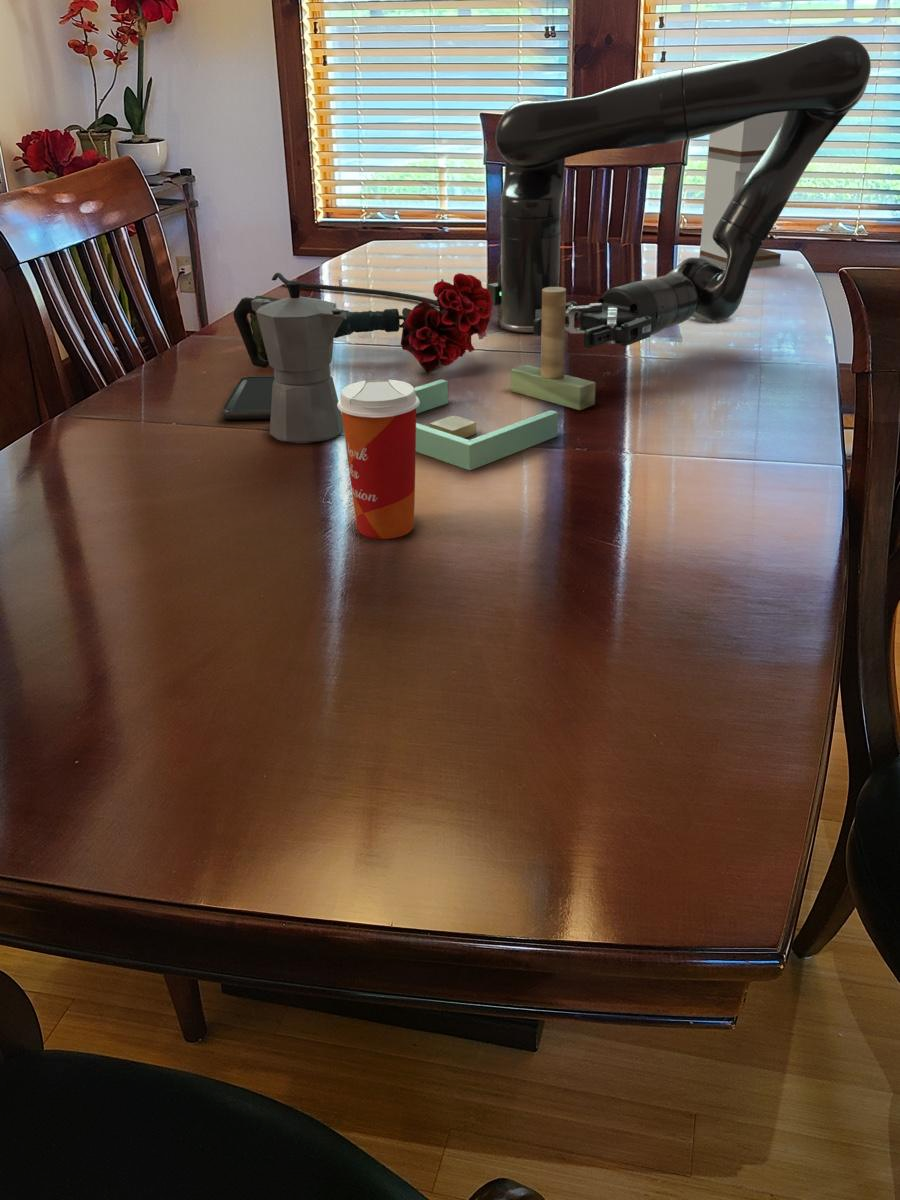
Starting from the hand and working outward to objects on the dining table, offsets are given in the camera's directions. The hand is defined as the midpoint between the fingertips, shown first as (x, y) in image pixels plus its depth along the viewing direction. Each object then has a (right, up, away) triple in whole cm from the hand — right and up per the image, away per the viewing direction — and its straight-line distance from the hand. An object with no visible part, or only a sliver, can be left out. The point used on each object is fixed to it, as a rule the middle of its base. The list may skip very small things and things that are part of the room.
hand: (560, 333), depth 138 cm
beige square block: (-14, -14, -8) cm, 22 cm away
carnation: (-25, +1, +20) cm, 32 cm away
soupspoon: (+28, +15, +44) cm, 55 cm away
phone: (-39, -8, +4) cm, 40 cm away
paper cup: (-21, -27, -31) cm, 46 cm away
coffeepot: (-33, -13, -6) cm, 36 cm away
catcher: (-13, -14, -8) cm, 21 cm away
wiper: (-1, -8, +3) cm, 8 cm away
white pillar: (+43, +32, +75) cm, 92 cm away
